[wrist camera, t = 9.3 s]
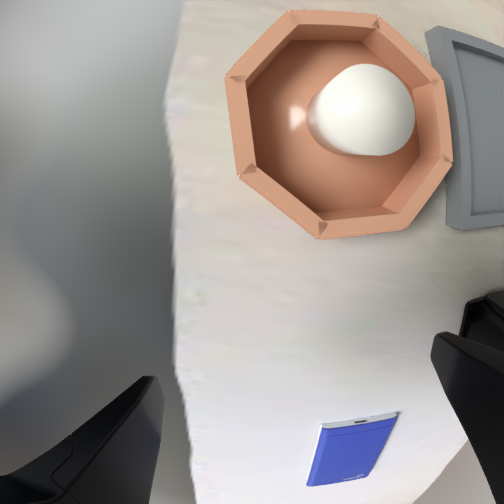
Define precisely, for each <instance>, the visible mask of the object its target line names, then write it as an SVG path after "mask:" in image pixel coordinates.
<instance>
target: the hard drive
mask: <svg viewBox="0 0 504 504" xmlns="http://www.w3.org/2000/svg"><path fill="white" fill-rule="evenodd" d="M397 417H398V416H397V414H396V412H392V413H387V414H383V415H377V416H372V417H366V418H360V419H354V420H347V421H340V422H332V423H324V424H321V426H320V430H319V434H318V438H317V442H316V445H315V449H314V453H313V457H312V461H311V464H310V468H309V471H308V475H307V478H306V484H307V486H319V485H326V484H333V483H339V482H345V481H350V480H355V479H360V478H365V477H367V476H368V475H369V473H370V472H371V470H372V468H373V466H374V464H375V462H376V460H377V459H378V457H379V455H380V453H381V451H382V449H383V447H384V445H385V443H386V441H387V439H388V437H389V435H390V433H391V430H392V428H393V426H394V424H395V422H396V420H397Z"/></svg>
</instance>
